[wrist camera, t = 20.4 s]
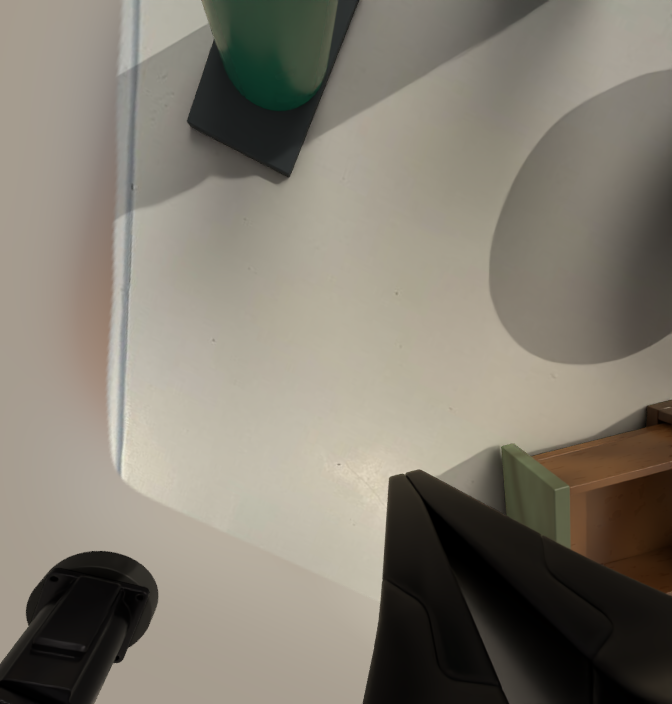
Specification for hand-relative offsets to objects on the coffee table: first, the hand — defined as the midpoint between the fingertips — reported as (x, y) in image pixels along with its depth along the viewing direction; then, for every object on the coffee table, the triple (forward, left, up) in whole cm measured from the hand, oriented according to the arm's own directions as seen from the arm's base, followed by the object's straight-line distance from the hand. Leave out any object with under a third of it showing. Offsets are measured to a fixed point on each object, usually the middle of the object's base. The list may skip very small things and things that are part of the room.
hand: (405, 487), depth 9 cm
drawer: (-3, -23, -12) cm, 26 cm away
